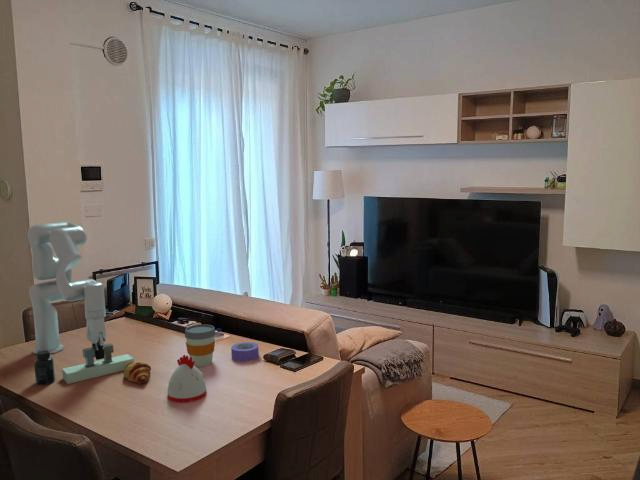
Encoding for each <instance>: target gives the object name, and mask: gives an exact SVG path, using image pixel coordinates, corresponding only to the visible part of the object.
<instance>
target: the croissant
mask: <svg viewBox="0 0 640 480" xmlns="http://www.w3.org/2000/svg"><path fill="white" fill-rule="evenodd" d="M151 370H152V366H151V365H149V363H147V362H144V361H134V362H130V363H128V364H127V365H126V367H125V370H123V377H124V378H125V379H127V380H128V381H129V382H133V383H136V384H140V385H141V384H144V383H146V382H147V381H149V378H150V377H151V376H150V375H151Z"/></svg>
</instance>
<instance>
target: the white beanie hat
mask: <svg viewBox="0 0 640 480" xmlns="http://www.w3.org/2000/svg"><path fill="white" fill-rule="evenodd" d="M176 361H177V365H178V366H177V367H175V370H174V371H173V373H172V374H171V376H170V379H169V381H168V387H167V399H168V400H169V401H171V402H173V403H178V404H179V403H180V404H183V403H185V404H186V403H191V402H192V403H193V402H195V401H200V400H201V399H203V398H205V396H207V393H208V392H207V386H206V382H205V375H204V373H203V372H202V371H200V370H199V369H198V367H196V366H194V363H195V361H193V362H192V357H190V358H189V355H185V354H184V355H182V356H180V357H179V358H178V359H177V360H176Z"/></svg>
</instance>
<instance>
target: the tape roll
mask: <svg viewBox="0 0 640 480" xmlns="http://www.w3.org/2000/svg"><path fill="white" fill-rule="evenodd" d="M230 348H231V349H230V350H231V360H233V361H235V362H240V363H241V362H242V363H244V362H245V363H247V362H252V361H256V360H257V359H258V358H259V355H260V353H259V344H258V343H255V342H252V341H251V342H250V341H248V342H247V341H245V342H238V343H237V342H236V343H235V344H233V345H231V347H230Z"/></svg>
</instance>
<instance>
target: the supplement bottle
mask: <svg viewBox="0 0 640 480" xmlns="http://www.w3.org/2000/svg"><path fill="white" fill-rule="evenodd" d="M35 355H36V356H35V358H36V359H35V360H34V363H33V366H34V367H33V369H34V378H35V379H34V380H35V384H36V385H39V386H45V385H49V384H52V383H54V382H55V381H56V374H55V361H54V358H53V357H51V354H50V351H48V350H45V351H39V352H37V353H36V354H35Z"/></svg>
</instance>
